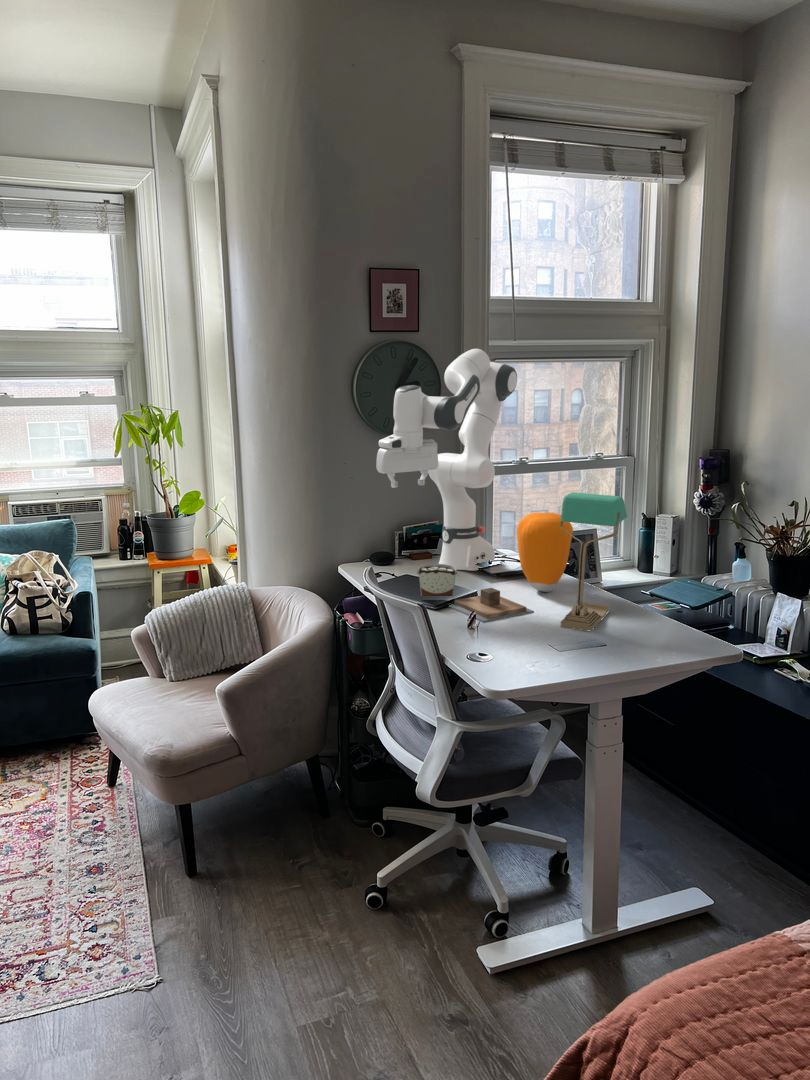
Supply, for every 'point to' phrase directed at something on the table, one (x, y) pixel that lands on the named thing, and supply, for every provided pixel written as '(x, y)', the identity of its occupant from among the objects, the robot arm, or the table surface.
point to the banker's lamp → (586, 512)
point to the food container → (437, 579)
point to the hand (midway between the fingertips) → (407, 486)
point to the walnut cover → (490, 604)
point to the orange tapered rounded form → (543, 548)
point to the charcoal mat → (489, 618)
